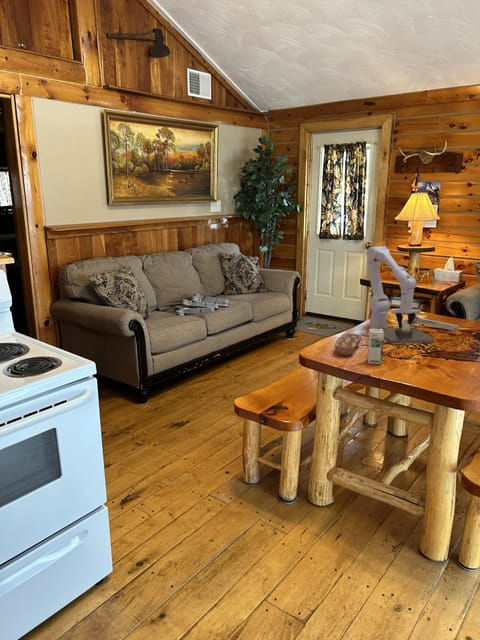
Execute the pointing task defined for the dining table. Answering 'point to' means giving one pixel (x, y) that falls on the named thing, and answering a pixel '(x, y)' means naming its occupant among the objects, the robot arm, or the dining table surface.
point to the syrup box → (375, 346)
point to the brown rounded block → (347, 343)
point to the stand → (406, 336)
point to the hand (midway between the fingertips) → (404, 327)
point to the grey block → (405, 326)
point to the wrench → (432, 323)
